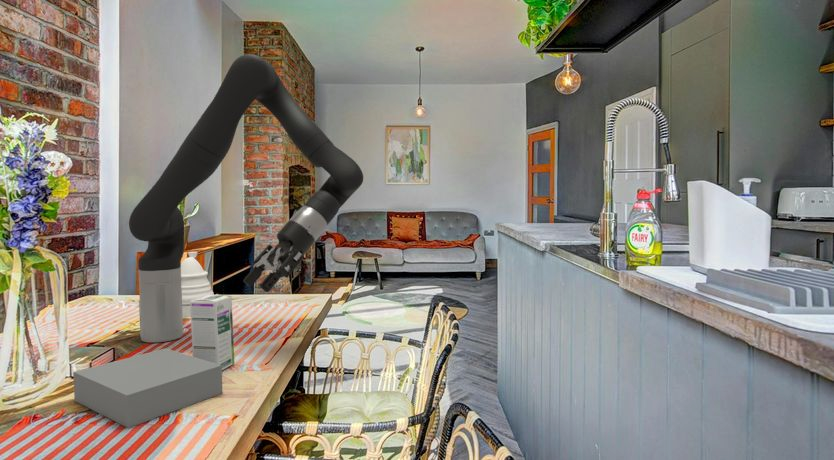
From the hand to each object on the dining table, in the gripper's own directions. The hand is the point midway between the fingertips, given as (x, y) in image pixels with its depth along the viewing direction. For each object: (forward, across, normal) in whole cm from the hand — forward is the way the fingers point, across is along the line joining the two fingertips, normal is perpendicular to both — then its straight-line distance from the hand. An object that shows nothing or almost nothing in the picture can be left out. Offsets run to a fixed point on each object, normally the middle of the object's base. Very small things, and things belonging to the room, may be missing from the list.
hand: (254, 286), depth 105 cm
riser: (+27, +8, -5) cm, 28 cm away
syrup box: (+17, 0, +5) cm, 18 cm away
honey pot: (+9, -55, +14) cm, 57 cm away
